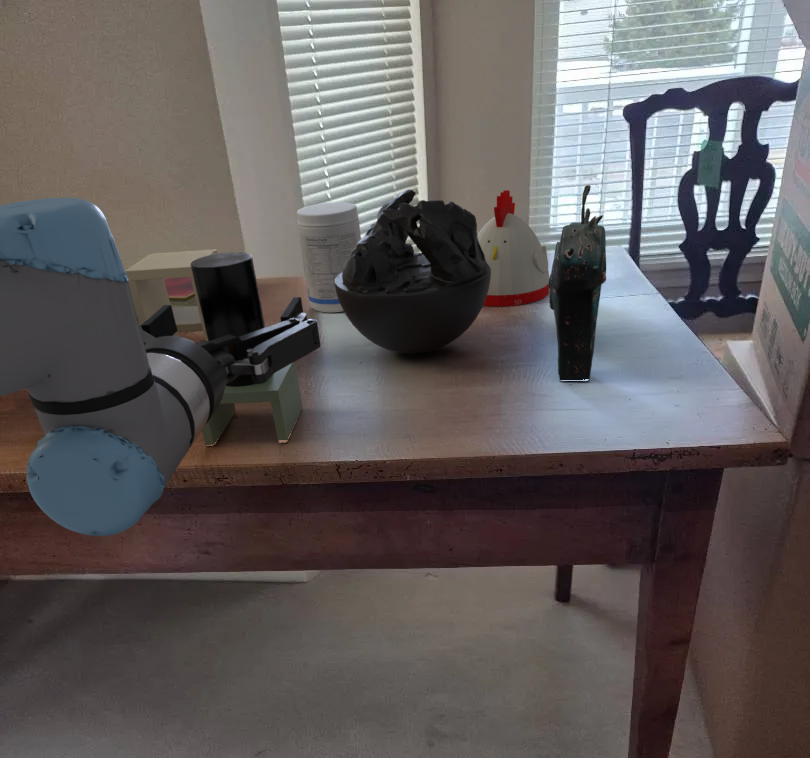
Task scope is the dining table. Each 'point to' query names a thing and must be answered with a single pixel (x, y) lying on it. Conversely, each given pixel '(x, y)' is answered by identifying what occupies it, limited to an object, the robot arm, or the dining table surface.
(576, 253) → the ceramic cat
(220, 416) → the low shelf
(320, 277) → the supplement tub
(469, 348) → the dining table surface
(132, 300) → the robot arm
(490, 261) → the kitchen timer
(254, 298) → the black canister
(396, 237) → the bowl of black rocks
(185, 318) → the high shelf
